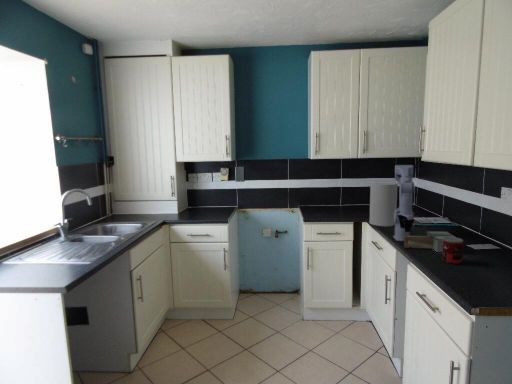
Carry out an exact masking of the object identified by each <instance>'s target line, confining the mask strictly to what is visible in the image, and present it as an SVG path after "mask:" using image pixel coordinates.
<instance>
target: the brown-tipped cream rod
mask: <svg viewBox="0 0 512 384" xmlns="http://www.w3.org/2000/svg"><path fill="white" fill-rule="evenodd" d="M403 247H404V248H405V249H433V237H432V236H427V235H410V236H404V241H403ZM410 247H411V248H410Z"/></svg>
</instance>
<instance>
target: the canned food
mask: <svg viewBox="0 0 512 384" xmlns="http://www.w3.org/2000/svg"><path fill="white" fill-rule="evenodd" d="M463 248H464V240H463V239H462V238H460V237H456V236H455V237H444V238H443V252H442V253H441V254H442V256H441V259H442V261H443V260H444V261H446V262H449V263H455V264H458V265H460V264H459V263H461V264H462V262H463V251H464V249H463Z"/></svg>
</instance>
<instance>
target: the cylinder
mask: <svg viewBox="0 0 512 384" xmlns="http://www.w3.org/2000/svg"><path fill="white" fill-rule="evenodd" d="M369 185H370V187H369V188H370V190H369V191H370V193H369V194H370V195H369V224H371V225H373V226H378V227H392V226H393V227H395V225H396V223H394V211H395V210H396V209H397V207H398V205H397V204H398V185H399V182H398V183H396V182H384V183H383V182H374V183H373V182H370V184H369Z"/></svg>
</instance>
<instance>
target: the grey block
mask: <svg viewBox="0 0 512 384" xmlns="http://www.w3.org/2000/svg"><path fill="white" fill-rule="evenodd" d="M425 232H426V233H425V234H426V236H432V237H433V248H432V250H433V249H434V250H435V251H436V252H443V238H444V237H456V236H455V235H453V234H451V233H449V232H448V231H429V230H428V231H425ZM434 250H433V251H434ZM435 251H434V252H435ZM436 252H435V253H436Z"/></svg>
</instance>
